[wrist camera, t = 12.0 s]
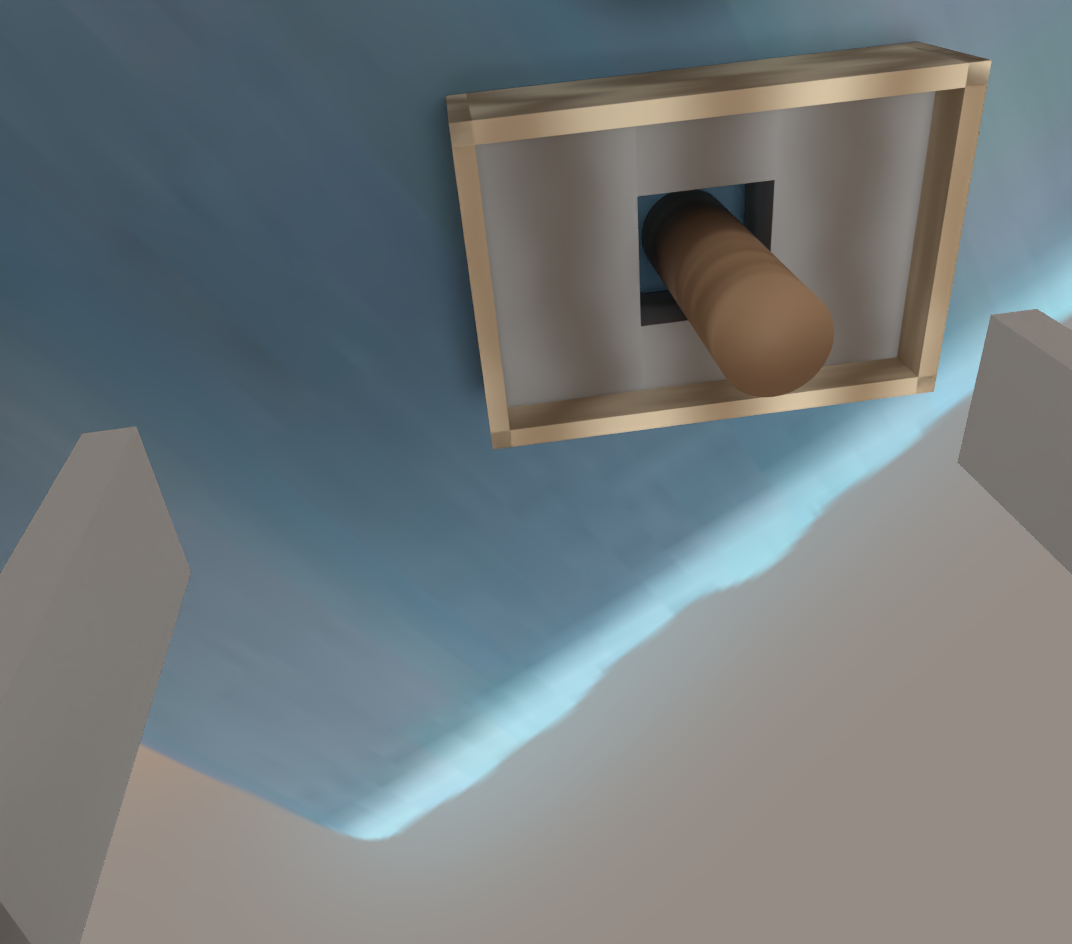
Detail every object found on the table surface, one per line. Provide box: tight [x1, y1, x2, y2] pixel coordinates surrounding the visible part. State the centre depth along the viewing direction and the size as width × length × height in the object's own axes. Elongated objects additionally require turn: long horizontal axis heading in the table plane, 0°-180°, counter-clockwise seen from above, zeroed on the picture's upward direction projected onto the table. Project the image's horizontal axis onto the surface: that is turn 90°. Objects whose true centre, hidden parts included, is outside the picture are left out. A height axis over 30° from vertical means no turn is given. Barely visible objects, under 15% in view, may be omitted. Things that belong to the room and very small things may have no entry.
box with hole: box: [446, 42, 991, 449], centre depth 36 cm, size 19×13×6 cm
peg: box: [642, 189, 834, 397], centre depth 33 cm, size 4×4×12 cm
